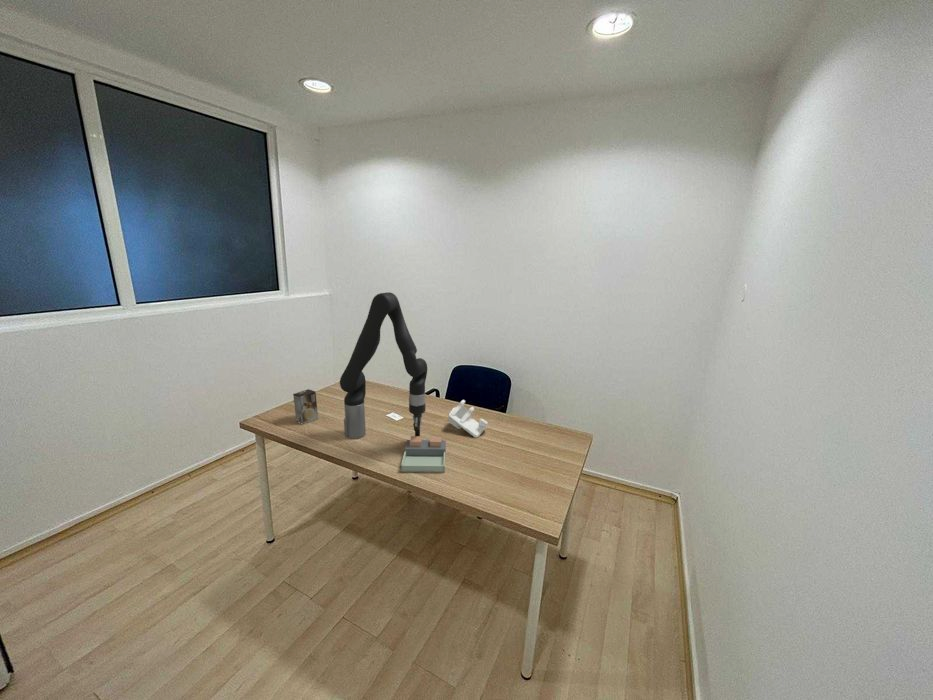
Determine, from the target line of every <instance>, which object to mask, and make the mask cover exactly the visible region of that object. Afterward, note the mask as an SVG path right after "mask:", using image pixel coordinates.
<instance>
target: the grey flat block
mask: <svg viewBox="0 0 933 700" xmlns="http://www.w3.org/2000/svg"><path fill="white" fill-rule="evenodd" d="M446 444H447V441H446V440H445V439H444V440H443V439H442V440H441V447H430V439H426V440H425V439H422V444H421V447H410V439H407V440H406V443H405V446H404V452H405V451H406V456H428V457H444V452H445V453H446V452H447V451H446V450H447V449H446V448H447V445H446Z"/></svg>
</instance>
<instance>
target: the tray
mask: <svg viewBox="0 0 933 700" xmlns="http://www.w3.org/2000/svg"><path fill="white" fill-rule="evenodd" d="M445 469H446V452H444V457H428V456H406V451H405V450H404V453H403V457H402V460H401V464H400V472H401V473H439V474H440V473H442V474H443V473H445Z"/></svg>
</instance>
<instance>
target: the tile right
mask: <svg viewBox="0 0 933 700" xmlns="http://www.w3.org/2000/svg"><path fill="white" fill-rule="evenodd" d="M429 440H430V447H441V440H443V439H442V436H435V435H434V436H433V435H432V436H430V439H429Z"/></svg>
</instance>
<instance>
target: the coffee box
mask: <svg viewBox="0 0 933 700" xmlns="http://www.w3.org/2000/svg"><path fill="white" fill-rule="evenodd" d="M316 393H317V392H316V391H315V390H312V389H309V388H308V389H305V390H302V391H299V392H296V393H292V395H293V405H294V412H295V414H294V415H295V421H298V422H300V423H302V424H304V425H306V424H305V423H307V422H309V423H311V422H314V421H316V420H318V419H319V413H318V402H317V394H316ZM313 420H314V421H313ZM310 421H311V422H310ZM298 422H297V423H298ZM300 423H299V424H300ZM302 424H301V425H302ZM307 424H308V423H307Z"/></svg>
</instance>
